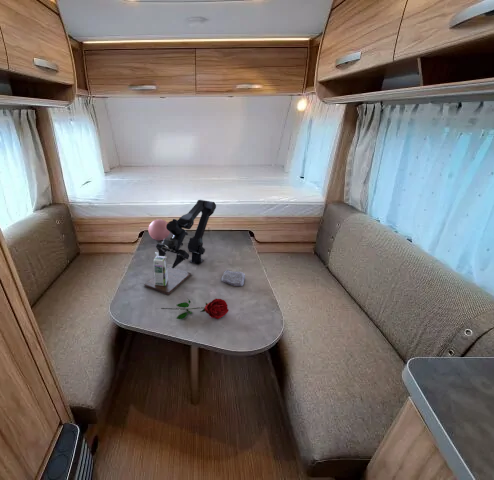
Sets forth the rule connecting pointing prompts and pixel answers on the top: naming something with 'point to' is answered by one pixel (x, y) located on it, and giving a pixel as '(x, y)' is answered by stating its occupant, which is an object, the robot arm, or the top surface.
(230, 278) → the stone block
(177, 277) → the grey flat tile
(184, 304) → the flower
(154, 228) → the balloon
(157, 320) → the top surface
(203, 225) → the robot arm
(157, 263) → the syrup box
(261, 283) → the top surface
